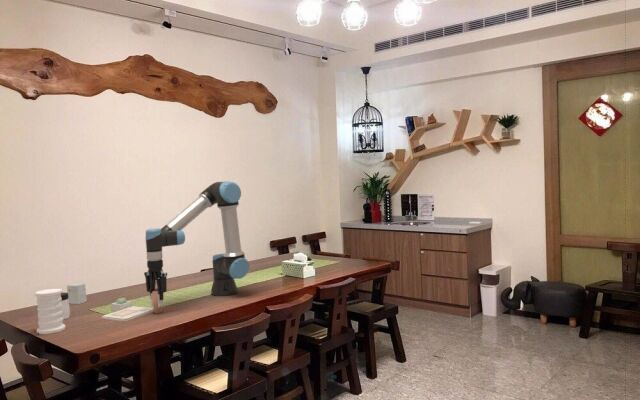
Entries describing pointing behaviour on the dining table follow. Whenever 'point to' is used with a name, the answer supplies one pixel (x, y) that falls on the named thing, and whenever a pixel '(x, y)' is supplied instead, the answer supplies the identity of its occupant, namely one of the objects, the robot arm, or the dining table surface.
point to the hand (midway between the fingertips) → (157, 305)
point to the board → (128, 313)
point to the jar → (65, 305)
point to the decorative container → (49, 311)
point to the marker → (156, 302)
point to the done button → (121, 300)
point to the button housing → (120, 306)
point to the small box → (76, 293)
